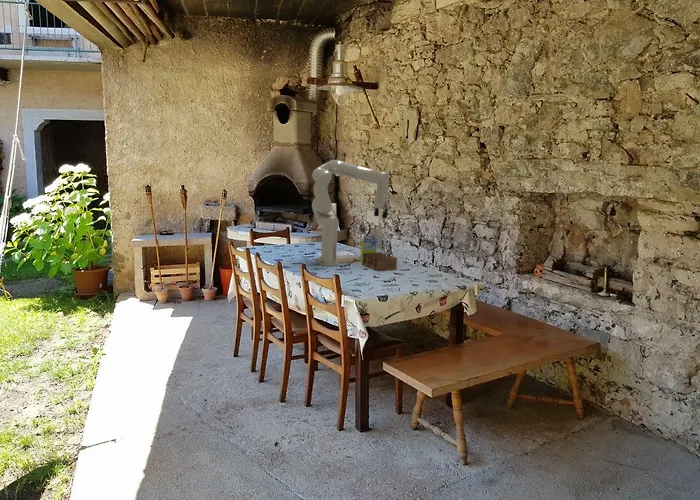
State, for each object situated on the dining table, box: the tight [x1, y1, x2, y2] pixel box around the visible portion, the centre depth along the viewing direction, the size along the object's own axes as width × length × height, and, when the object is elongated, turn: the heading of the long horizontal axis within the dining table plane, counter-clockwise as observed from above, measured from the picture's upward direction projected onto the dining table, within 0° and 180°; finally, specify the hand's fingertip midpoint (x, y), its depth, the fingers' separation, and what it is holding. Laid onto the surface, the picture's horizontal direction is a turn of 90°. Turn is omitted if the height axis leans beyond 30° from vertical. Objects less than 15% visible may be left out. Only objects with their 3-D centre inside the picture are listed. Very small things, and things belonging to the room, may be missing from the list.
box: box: [360, 235, 378, 263], centre depth 366 cm, size 10×4×17 cm, turn 119°
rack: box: [361, 251, 398, 272], centre depth 352 cm, size 18×14×8 cm
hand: (380, 217), depth 368 cm, fingers open, 9 cm apart
